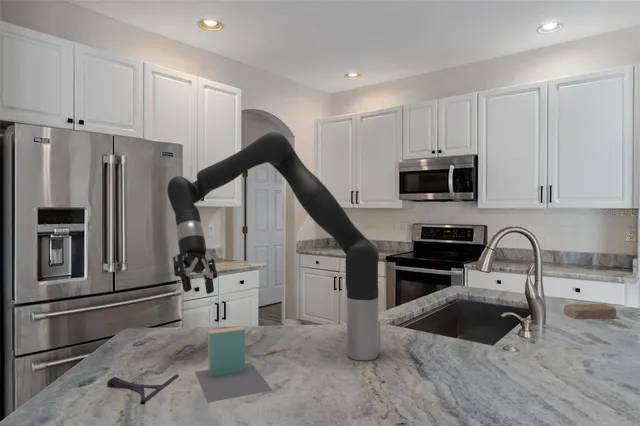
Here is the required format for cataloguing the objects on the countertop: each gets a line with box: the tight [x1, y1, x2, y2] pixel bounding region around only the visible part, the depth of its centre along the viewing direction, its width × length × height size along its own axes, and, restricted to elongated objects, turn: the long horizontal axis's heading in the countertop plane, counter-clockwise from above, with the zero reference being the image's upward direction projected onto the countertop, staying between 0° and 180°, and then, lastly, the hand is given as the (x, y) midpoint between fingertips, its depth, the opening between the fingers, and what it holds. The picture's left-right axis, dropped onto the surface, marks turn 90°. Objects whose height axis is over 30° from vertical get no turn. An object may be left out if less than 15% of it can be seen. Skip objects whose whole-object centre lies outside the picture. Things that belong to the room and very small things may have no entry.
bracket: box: [106, 373, 180, 405], centre depth 102 cm, size 14×15×3 cm
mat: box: [195, 362, 273, 403], centre depth 105 cm, size 15×19×1 cm
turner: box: [261, 347, 284, 357], centre depth 123 cm, size 13×3×1 cm, turn 134°
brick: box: [563, 303, 617, 320], centre depth 168 cm, size 16×8×5 cm, turn 91°
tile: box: [207, 326, 246, 377], centre depth 110 cm, size 9×3×11 cm, turn 114°
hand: (199, 292), depth 119 cm, fingers open, 8 cm apart
